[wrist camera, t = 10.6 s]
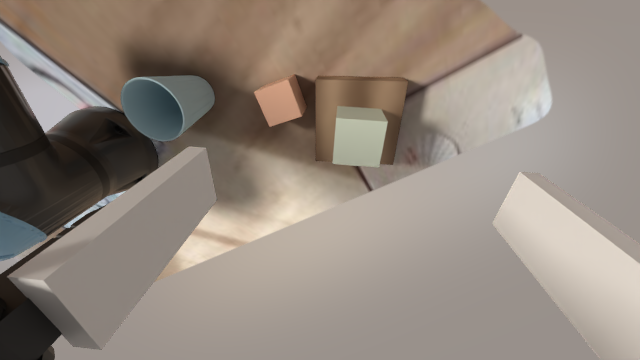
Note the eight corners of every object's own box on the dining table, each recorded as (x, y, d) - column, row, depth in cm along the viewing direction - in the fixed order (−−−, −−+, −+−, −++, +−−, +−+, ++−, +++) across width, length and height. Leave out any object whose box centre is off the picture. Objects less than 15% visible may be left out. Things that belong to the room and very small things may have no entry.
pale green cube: (334, 146, 37) (332, 163, 31) (337, 105, 34) (336, 118, 28) (374, 149, 36) (379, 167, 31) (381, 109, 33) (387, 121, 28)
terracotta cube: (277, 116, 39) (269, 126, 35) (264, 85, 37) (253, 92, 32) (306, 107, 38) (301, 116, 33) (294, 74, 35) (287, 79, 31)
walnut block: (318, 150, 42) (315, 160, 38) (318, 75, 35) (315, 79, 32) (389, 153, 41) (393, 164, 37) (402, 77, 35) (408, 81, 31)
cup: (191, 54, 35) (139, 61, 26) (231, 97, 38) (196, 117, 29) (164, 89, 38) (109, 105, 29) (203, 126, 41) (163, 152, 32)
